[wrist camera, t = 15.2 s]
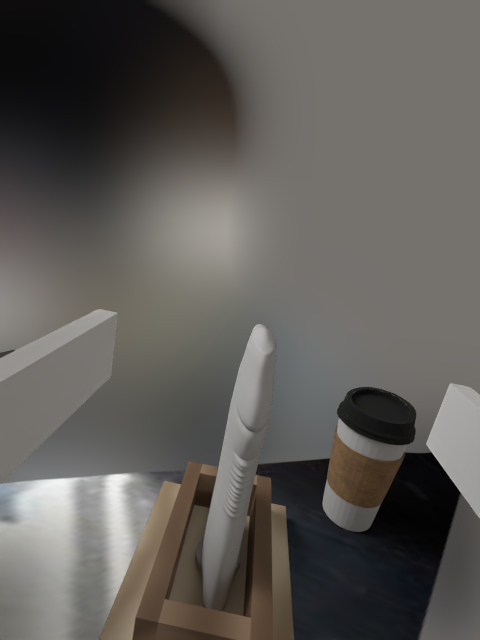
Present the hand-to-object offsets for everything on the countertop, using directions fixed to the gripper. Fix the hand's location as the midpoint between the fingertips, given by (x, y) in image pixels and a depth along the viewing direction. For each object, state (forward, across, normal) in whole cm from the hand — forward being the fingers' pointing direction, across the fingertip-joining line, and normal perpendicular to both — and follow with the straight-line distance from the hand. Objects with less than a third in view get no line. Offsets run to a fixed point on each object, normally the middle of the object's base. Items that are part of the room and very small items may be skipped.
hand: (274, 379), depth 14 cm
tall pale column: (+12, 0, -24) cm, 27 cm away
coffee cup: (+24, +15, -26) cm, 38 cm away
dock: (+12, 0, -25) cm, 28 cm away
